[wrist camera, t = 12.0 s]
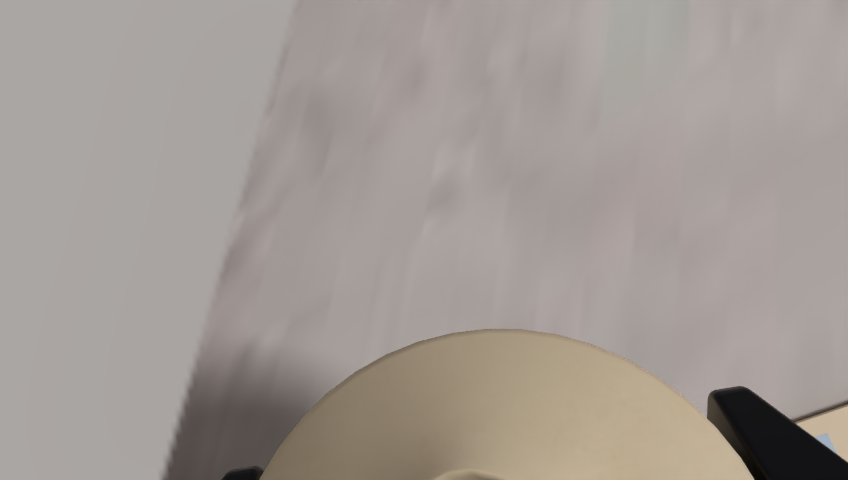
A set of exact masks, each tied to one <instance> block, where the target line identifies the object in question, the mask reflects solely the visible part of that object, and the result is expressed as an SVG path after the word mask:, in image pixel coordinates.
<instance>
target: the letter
mask: <svg viewBox="0 0 848 480" xmlns="http://www.w3.org/2000/svg"><path fill="white" fill-rule="evenodd" d="M794 423H796V424H797V425H798V426H800V427H801V428H802V429H804V430H805V431H806V432H808V433H809V434H811V435H812V436H813V437H815V438H816V439H817V440H819V441H820V442H821V443H823V444H824V445H825V446H827V447H828V448H829V449H831V450H832V451H833V452H835V453H836V454H838V455H839V456H840V457H842V458H843V459H844V460H846V461H847V462H848V404H847V405H844V406H841V407H838V408H835V409H832V410H829V411H826V412H823V413H820V414H817V415H814V416H811V417H809V418H806V419H803V420H800V421H797V422H794Z"/></svg>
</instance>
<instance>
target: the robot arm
mask: <svg viewBox="0 0 848 480" xmlns="http://www.w3.org/2000/svg"><path fill="white" fill-rule="evenodd" d="M707 419H708V420H709V421H710V422H711V423H712V424H713V425H714V426H715V427H716V428H717V429H718V430H719V432H720V433H721V434H722V435H723V436H724V438H725V439H726V440H727V441H728V443H729V444H730V445H731V446H732V448H733V449H734V450H735V451H736V453H737V454H738V455H739V456H740V457H741V459H742V461H743V462H744V464H745V465H746V467H747V468H748V470H749V472H750V473H751V475H752V476H753V478H754V480H848V462H847V461H846V460H844V459H843V458H842V457H840V456H839V455H838V454H836V453H835V452H833V451H832V450H831V449H829V448H828V447H827V446H825V445H824V444H823V443H821V442H820V441H819V440H817V439H816V438H815V437H813V436H812V435H811V434H809V433H808V432H806V431H805V430H804V429H802V428H801V427H800V426H798V425H797V424H796V423H794V422H793V421H792V420H790V419H789V418H788V417H786V416H785V415H784V414H782V413H781V412H780V411H778V410H777V409H775V408H774V407H773V406H771V405H770V404H769V403H767V402H766V401H765V400H763V399H762V398H761V397H759V396H758V395H757V394H755V393H754V392H753V391H751V390H750V389H748V388H746V387H742V386H737V387H731V388H725V389H719V390H714V391H712V392H711V393H710V394H709V397H708V406H707ZM263 472H264V470H263V469H262V468H261V467H259V466H253V467H247V468H241V469H235V470H231V471H229V472H228V473H227V474H226V475H225V476H224V477H223V478H222V479H221V480H259V479H260V477H261V476H262V474H263Z"/></svg>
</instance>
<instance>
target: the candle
mask: <svg viewBox="0 0 848 480" xmlns="http://www.w3.org/2000/svg"><path fill="white" fill-rule="evenodd" d="M259 480H754V478H753V476H752V475H751V473H750V472H749V470H748V468H747V467H746V465H745V464H744V462H743V461H742V459H741V457H740V456H739V455H738V454H737V453H736V451H735V450H734V449H733V448H732V446H731V445H730V444H729V443H728V441H727V440H726V439H725V438H724V436H723V435H722V434H721V433H720V432H719V430H718V429H717V428H716V427H715V426H714V425H713V424H712V423H711V422H710V421H709V420H708V419H707V418H706V417H705V416H704V415H703V414H702V413H701V412H700V411H699V410H698V409H697V408H696V407H695V406H694V405H693V404H692V403H691V402H689V401H688V400H687V399H686V398H685V397H683V396H682V395H681V394H679V393H678V392H677V391H675V390H674V389H673V388H671V387H670V386H669V385H667V384H666V383H665V382H663V381H662V380H661V379H659V378H658V377H657V376H655V375H653V374H651V373H650V372H648V371H646V370H644V369H643V368H641V367H639V366H638V365H636V364H634V363H632V362H631V361H629V360H627V359H625V358H623V357H621V356H618V355H616V354H614V353H611V352H609V351H606V350H604V349H602V348H599V347H597V346H595V345H592V344H589V343H585V342H582V341H578V340H575V339H571V338H567V337H564V336H560V335H556V334H549V333H542V332H535V331H528V330H522V329H483V330H475V331H466V332H458V333H451V334H447V335H443V336H439V337H435V338H431V339H427V340H423V341H419V342H416V343H414V344H412V345H409V346H407V347H404V348H402V349H399V350H397V351H394V352H392V353H389V354H387V355H385V356H383V357H381V358H379V359H378V360H376V361H374V362H372V363H370V364H369V365H367V366H365V367H363V368H362V369H360V370H358V371H356V372H355V373H353V374H352V375H351V376H349V377H348V378H347V379H345V380H344V381H343V382H341V383H340V384H339V385H337V386H336V387H335V388H333V389H332V390H331V391H329V392H328V393H327V394H326V395H325V396H324V397H323V398H322V399H321V400H320V401H319V402H318V403H317V404H316V405H315V406H314V407H313V408H312V409H311V410H309V411H308V412H307V413H306V414H305V415H304V416H303V417H302V418H301V420H300V421H299V422H298V423H297V425H296V426H295V427H294V428H293V430H292V431H291V432H290V433H289V435H288V436H287V437H286V439H285V440H284V441H283V442H282V444H281V445H280V446H279V448H278V449H277V451H276V453H275V454H274V456H273V458H272V459H271V461H270V462H269V464H268V466H267V467H266V469H265V471H264V472H263V474H262V476H261V477H260V479H259Z"/></svg>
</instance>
